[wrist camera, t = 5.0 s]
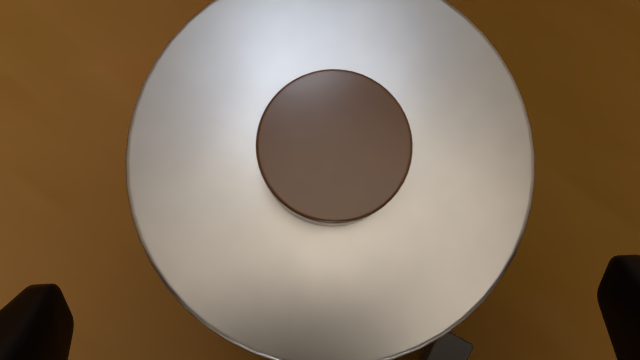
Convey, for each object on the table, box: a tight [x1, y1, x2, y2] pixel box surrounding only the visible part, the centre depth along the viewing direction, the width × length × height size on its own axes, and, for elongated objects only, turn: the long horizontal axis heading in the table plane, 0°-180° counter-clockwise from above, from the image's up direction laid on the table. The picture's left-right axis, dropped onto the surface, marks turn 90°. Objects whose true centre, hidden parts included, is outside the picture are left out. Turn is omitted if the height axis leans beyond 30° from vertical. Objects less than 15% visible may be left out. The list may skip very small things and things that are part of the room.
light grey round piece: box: [125, 0, 534, 360], centre depth 12 cm, size 7×7×7 cm
